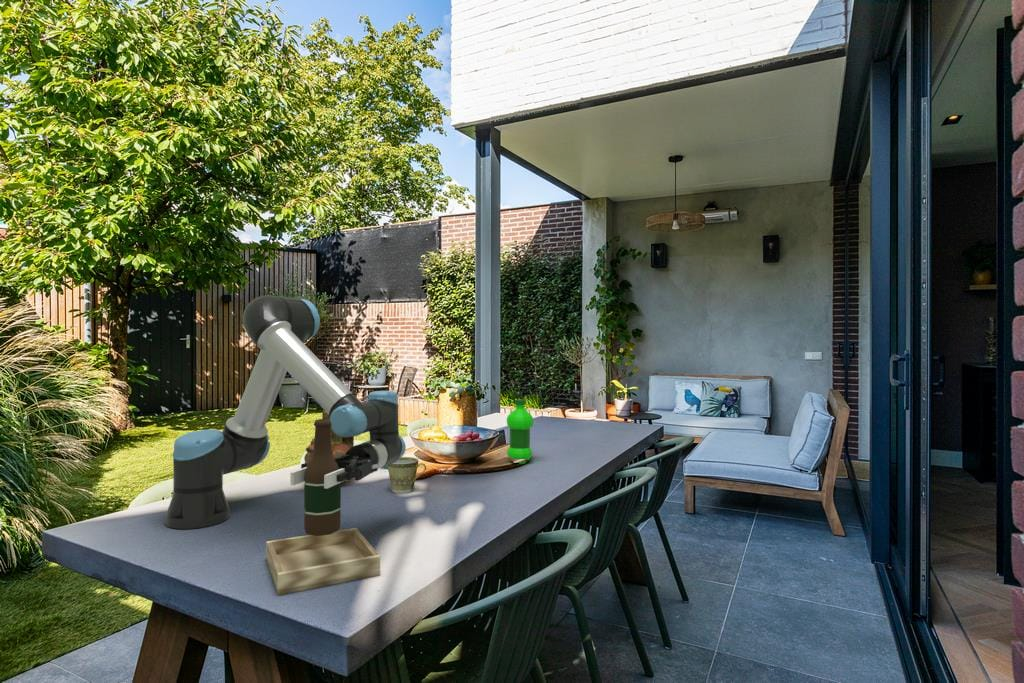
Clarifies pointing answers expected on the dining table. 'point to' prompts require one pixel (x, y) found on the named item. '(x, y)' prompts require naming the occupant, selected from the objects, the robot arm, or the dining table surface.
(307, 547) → the oak tray
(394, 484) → the ceramic cup
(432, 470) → the dining table surface
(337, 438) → the ceramic vessel
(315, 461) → the beer bottle
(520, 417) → the plastic bottle
